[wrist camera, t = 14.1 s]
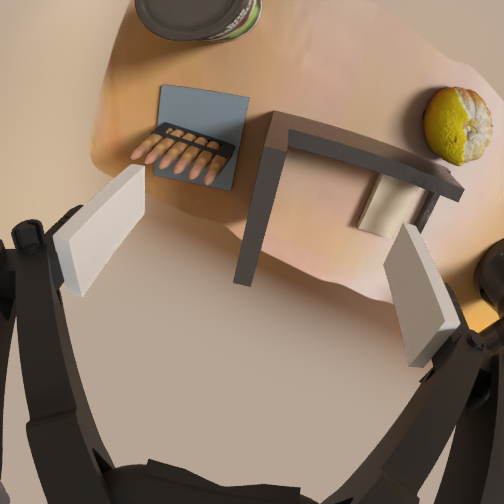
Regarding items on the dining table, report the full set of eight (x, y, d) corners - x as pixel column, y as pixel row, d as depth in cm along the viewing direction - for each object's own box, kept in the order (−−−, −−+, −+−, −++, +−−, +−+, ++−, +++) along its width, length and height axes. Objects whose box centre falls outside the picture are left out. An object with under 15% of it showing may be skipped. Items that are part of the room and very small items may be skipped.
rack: (446, 167, 39) (498, 225, 27) (405, 251, 49) (432, 323, 36) (274, 110, 39) (263, 145, 26) (250, 211, 48) (233, 282, 36)
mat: (249, 97, 38) (249, 98, 38) (231, 189, 47) (230, 191, 46) (163, 84, 38) (161, 85, 37) (155, 173, 46) (153, 175, 46)
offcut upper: (417, 180, 41) (420, 184, 40) (390, 234, 47) (392, 239, 46) (383, 166, 41) (385, 170, 40) (357, 224, 47) (358, 228, 46)
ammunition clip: (161, 133, 42) (122, 164, 32) (164, 121, 41) (124, 148, 31) (231, 157, 43) (211, 195, 33) (235, 145, 42) (216, 180, 32)
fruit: (467, 170, 39) (479, 187, 33) (410, 136, 40) (413, 147, 34) (496, 108, 32) (514, 115, 26) (437, 71, 33) (446, 70, 27)
